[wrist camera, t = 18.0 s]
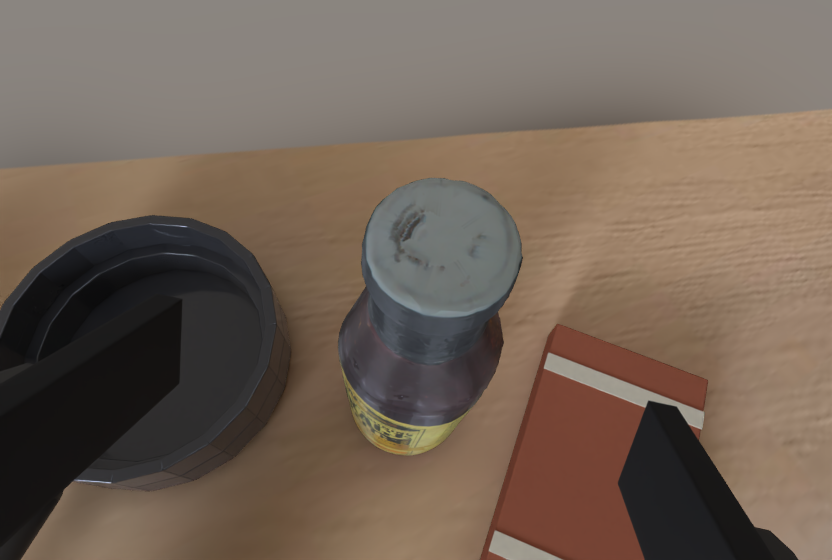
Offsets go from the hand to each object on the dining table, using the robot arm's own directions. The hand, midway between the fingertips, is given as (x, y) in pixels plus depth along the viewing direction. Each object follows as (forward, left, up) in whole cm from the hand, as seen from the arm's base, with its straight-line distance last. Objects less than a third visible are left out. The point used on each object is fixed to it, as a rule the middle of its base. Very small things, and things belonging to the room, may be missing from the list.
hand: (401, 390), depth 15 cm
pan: (+15, 0, -16) cm, 22 cm away
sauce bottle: (+1, -3, -17) cm, 17 cm away
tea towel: (-10, -3, -16) cm, 20 cm away
